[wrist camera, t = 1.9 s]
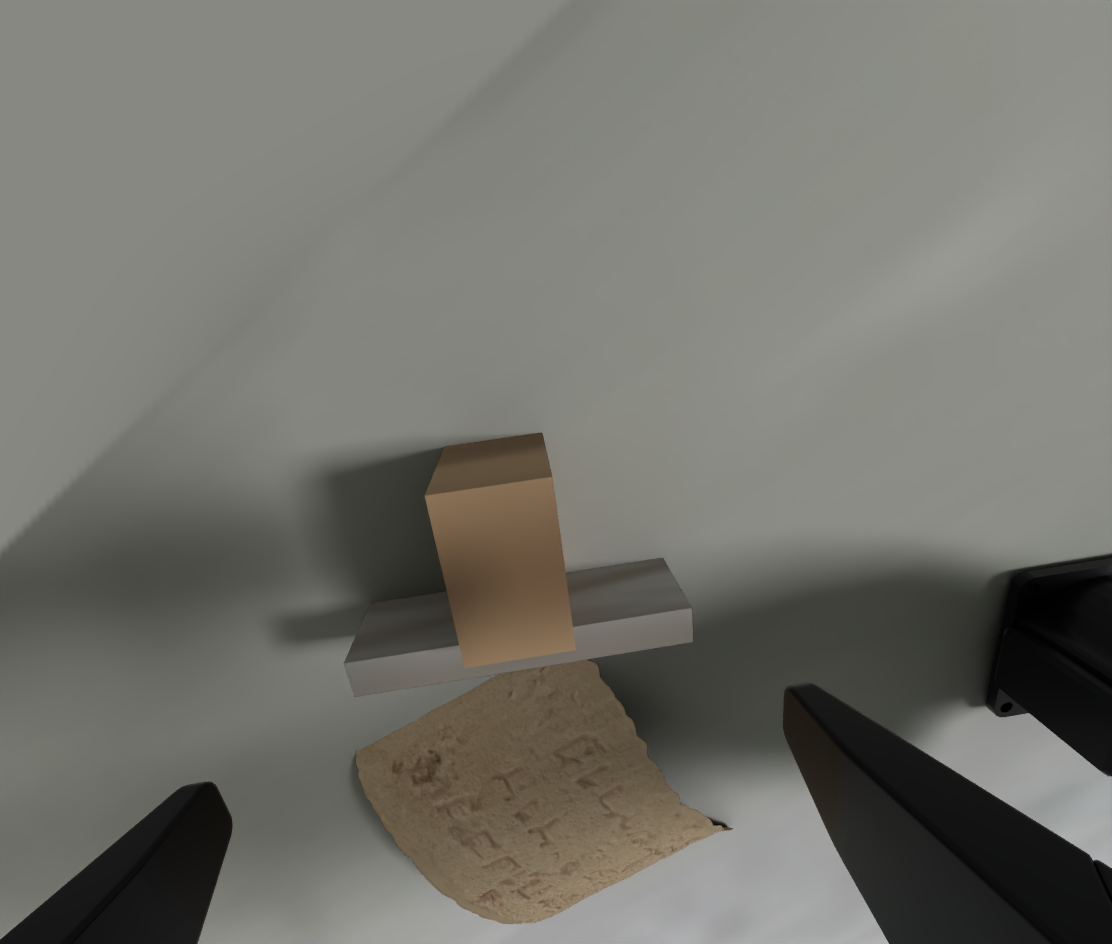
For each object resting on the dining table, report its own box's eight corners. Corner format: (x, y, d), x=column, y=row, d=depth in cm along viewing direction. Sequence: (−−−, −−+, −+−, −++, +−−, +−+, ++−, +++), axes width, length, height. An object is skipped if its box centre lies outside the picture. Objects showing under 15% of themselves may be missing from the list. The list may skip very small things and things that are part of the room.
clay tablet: (736, 816, 23) (764, 881, 20) (551, 918, 24) (556, 991, 22) (553, 595, 18) (560, 643, 16) (337, 734, 20) (311, 799, 17)
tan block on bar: (329, 463, 16) (272, 518, 12) (653, 415, 16) (698, 455, 12) (379, 631, 18) (344, 724, 14) (664, 587, 18) (705, 665, 14)
